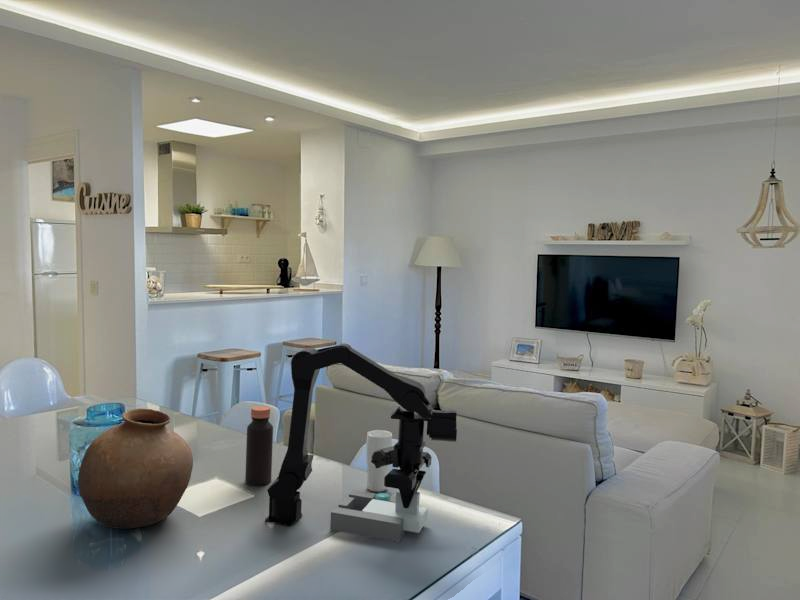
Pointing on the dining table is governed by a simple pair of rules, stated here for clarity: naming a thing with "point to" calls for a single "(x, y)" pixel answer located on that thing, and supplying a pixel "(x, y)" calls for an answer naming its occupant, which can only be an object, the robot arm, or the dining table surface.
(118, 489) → the pottery
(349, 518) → the filter housing
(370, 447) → the drinking glass
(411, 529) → the white stepped block
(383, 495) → the teal egg-shaped capsule
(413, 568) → the dining table surface
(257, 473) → the bottle
